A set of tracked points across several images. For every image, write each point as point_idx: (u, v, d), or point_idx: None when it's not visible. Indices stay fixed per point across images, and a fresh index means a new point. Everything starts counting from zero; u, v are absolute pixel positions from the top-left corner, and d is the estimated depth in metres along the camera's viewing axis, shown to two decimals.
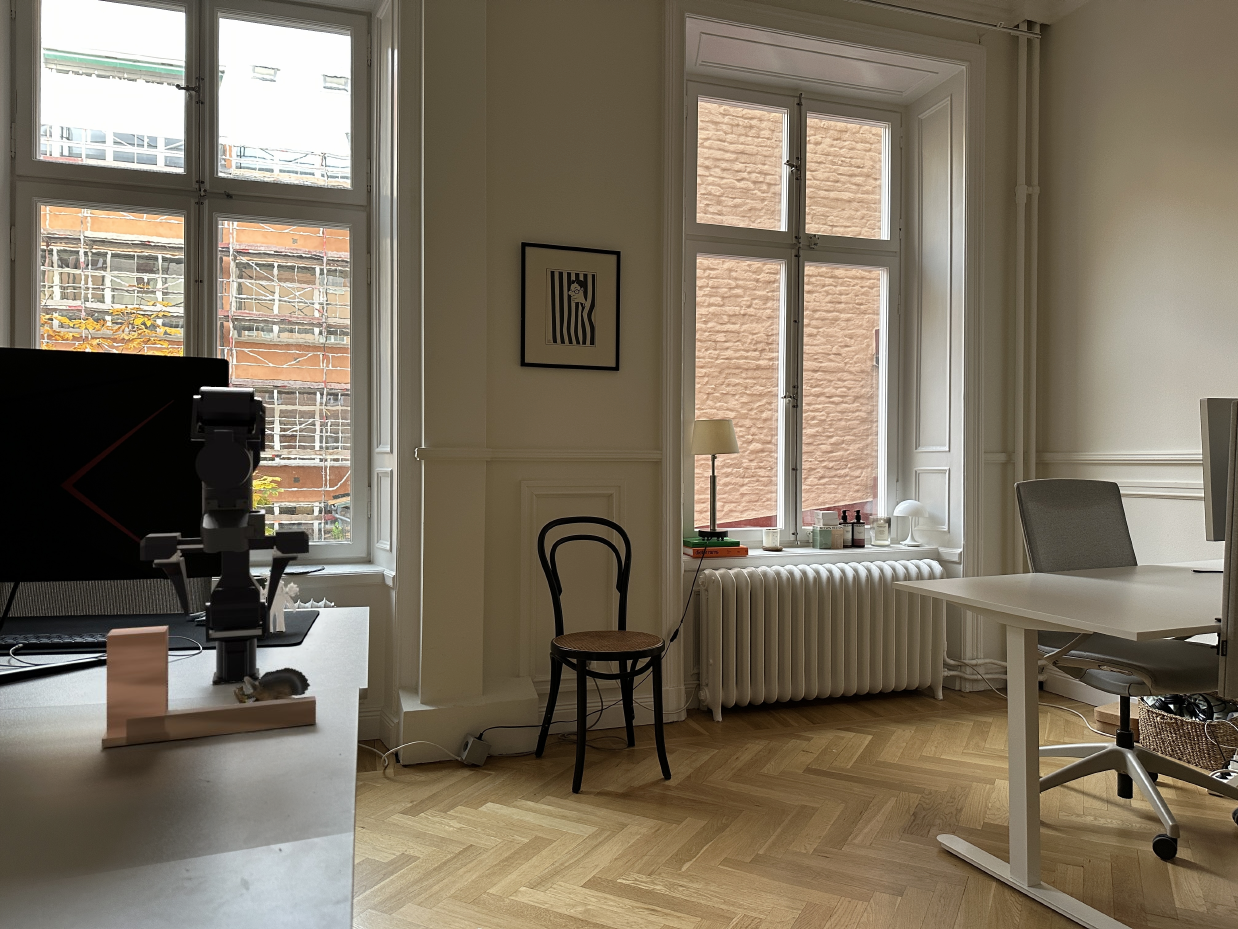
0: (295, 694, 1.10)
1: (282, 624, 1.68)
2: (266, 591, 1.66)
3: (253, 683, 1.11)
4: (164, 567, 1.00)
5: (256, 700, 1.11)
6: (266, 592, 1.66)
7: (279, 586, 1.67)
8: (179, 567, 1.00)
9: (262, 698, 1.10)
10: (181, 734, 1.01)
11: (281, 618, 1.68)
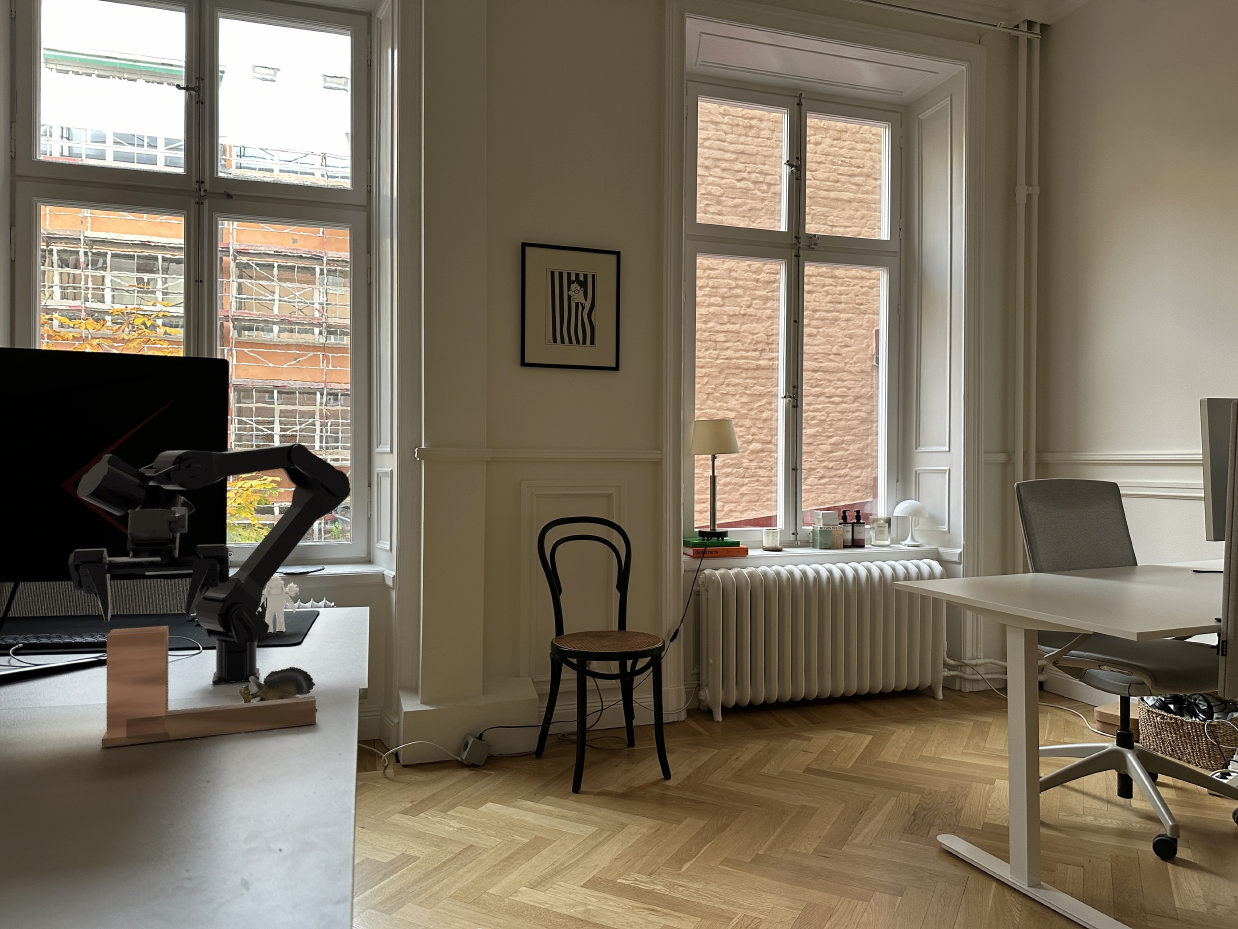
0: (300, 693, 1.10)
1: (282, 624, 1.68)
2: (266, 591, 1.66)
3: (258, 682, 1.12)
4: (90, 569, 1.09)
5: (261, 699, 1.11)
6: (266, 592, 1.66)
7: (279, 586, 1.67)
8: (104, 569, 1.09)
9: (267, 697, 1.10)
10: (181, 734, 1.01)
11: (281, 618, 1.68)
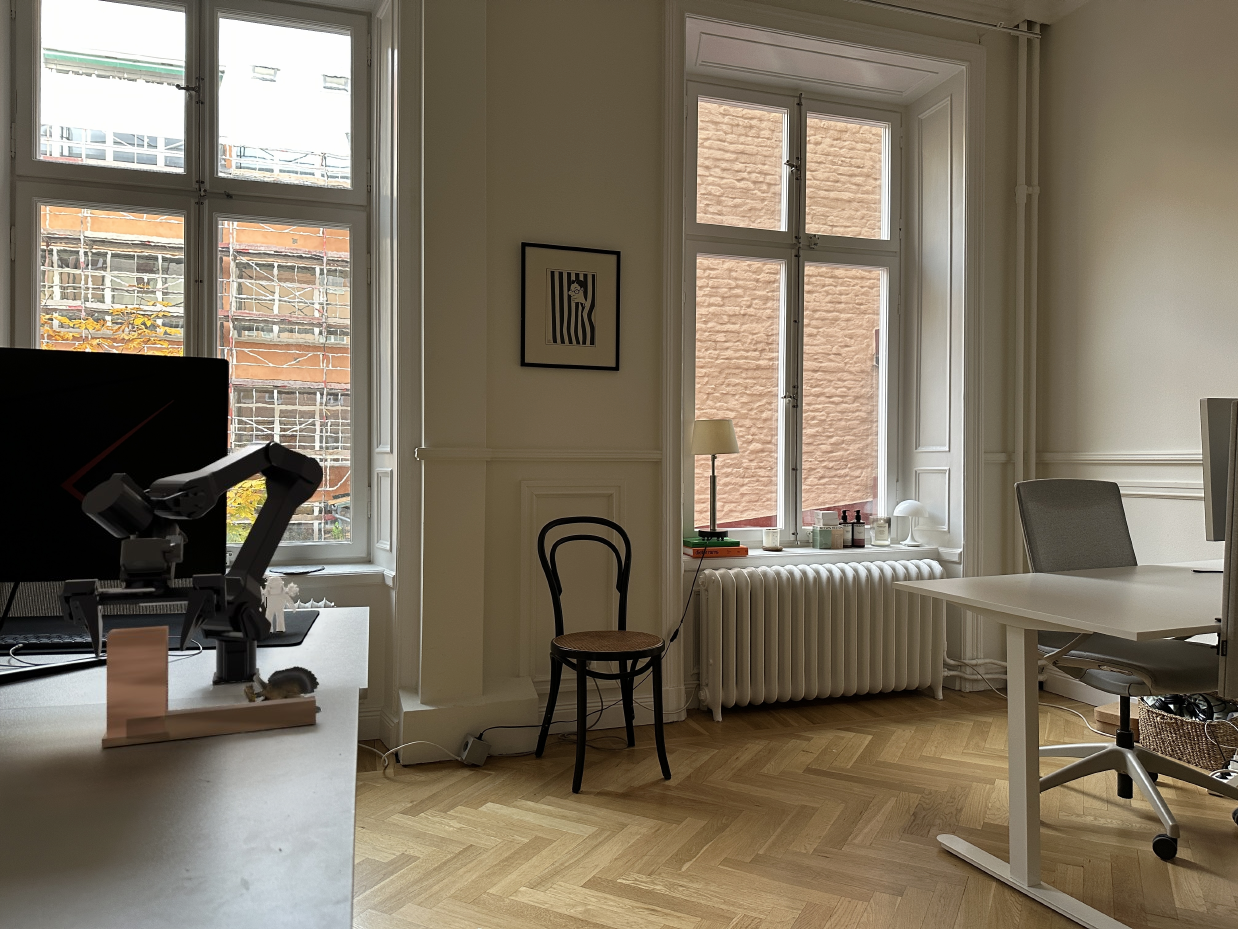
0: (304, 693, 1.11)
1: (282, 624, 1.68)
2: (266, 591, 1.66)
3: (262, 682, 1.12)
4: (80, 601, 1.04)
5: (265, 699, 1.11)
6: (266, 592, 1.66)
7: (279, 586, 1.67)
8: (95, 601, 1.04)
9: (272, 696, 1.11)
10: (181, 734, 1.01)
11: (281, 618, 1.68)
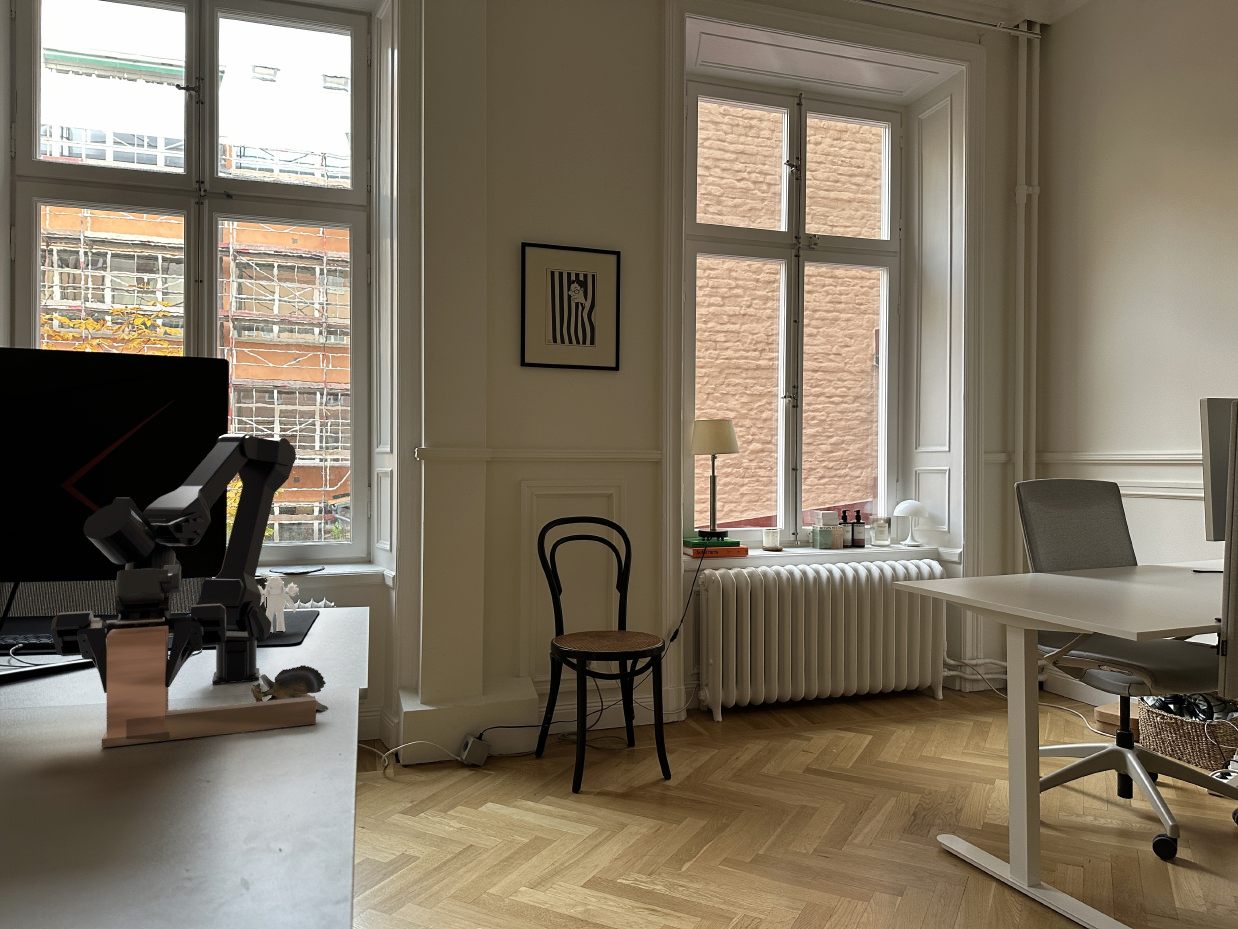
0: (311, 691, 1.11)
1: (282, 624, 1.68)
2: (266, 591, 1.66)
3: (269, 681, 1.13)
4: (88, 634, 1.00)
5: (272, 697, 1.12)
6: (266, 592, 1.66)
7: (279, 586, 1.67)
8: (103, 634, 1.01)
9: (278, 695, 1.11)
10: (181, 734, 1.01)
11: (281, 618, 1.68)
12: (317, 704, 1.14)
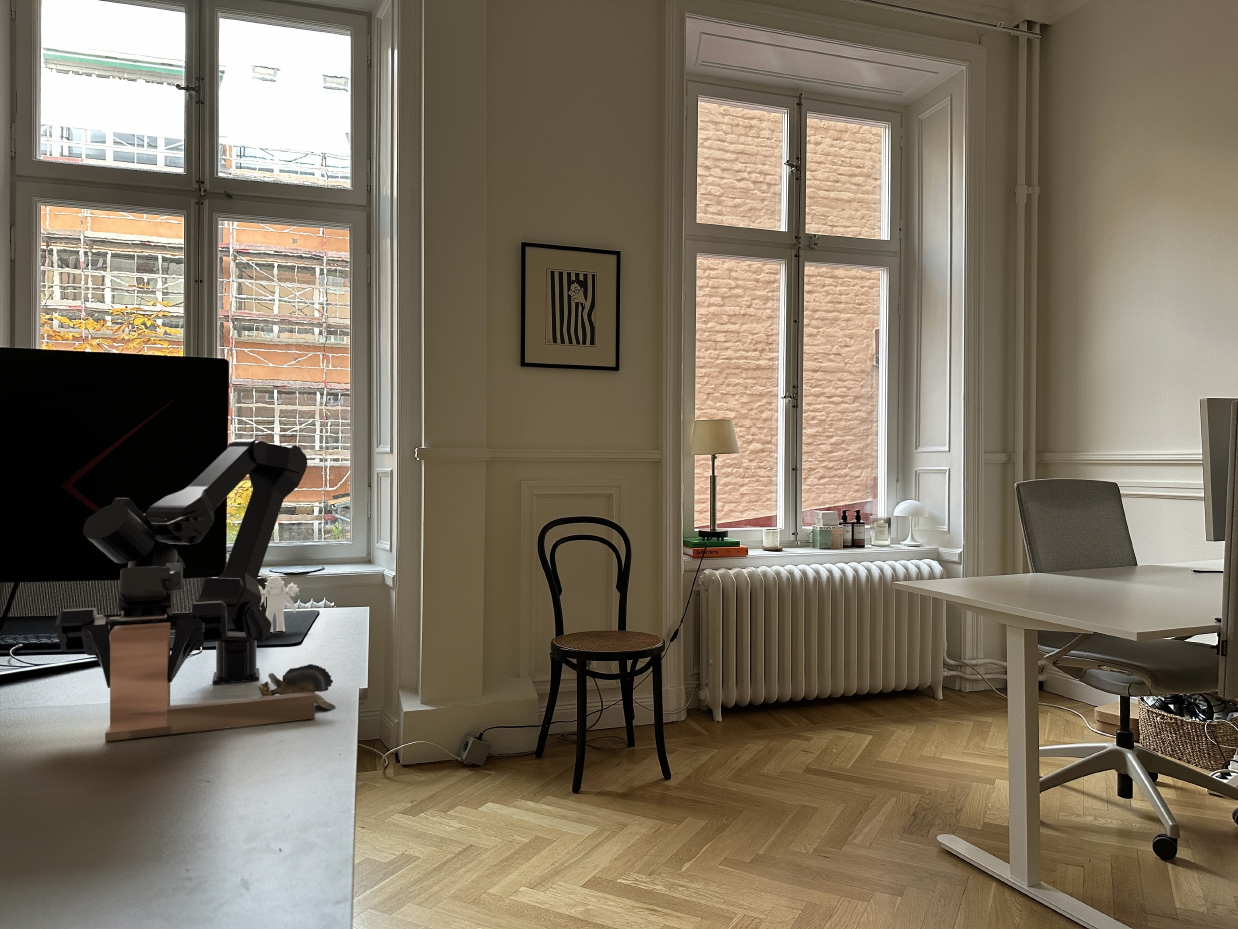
0: (318, 690, 1.12)
1: (282, 624, 1.68)
2: (266, 591, 1.66)
3: (277, 679, 1.13)
4: (92, 630, 1.02)
5: None
6: (266, 592, 1.66)
7: (279, 586, 1.67)
8: (107, 630, 1.03)
9: None
10: (183, 728, 1.03)
11: (281, 618, 1.68)
12: (324, 703, 1.14)
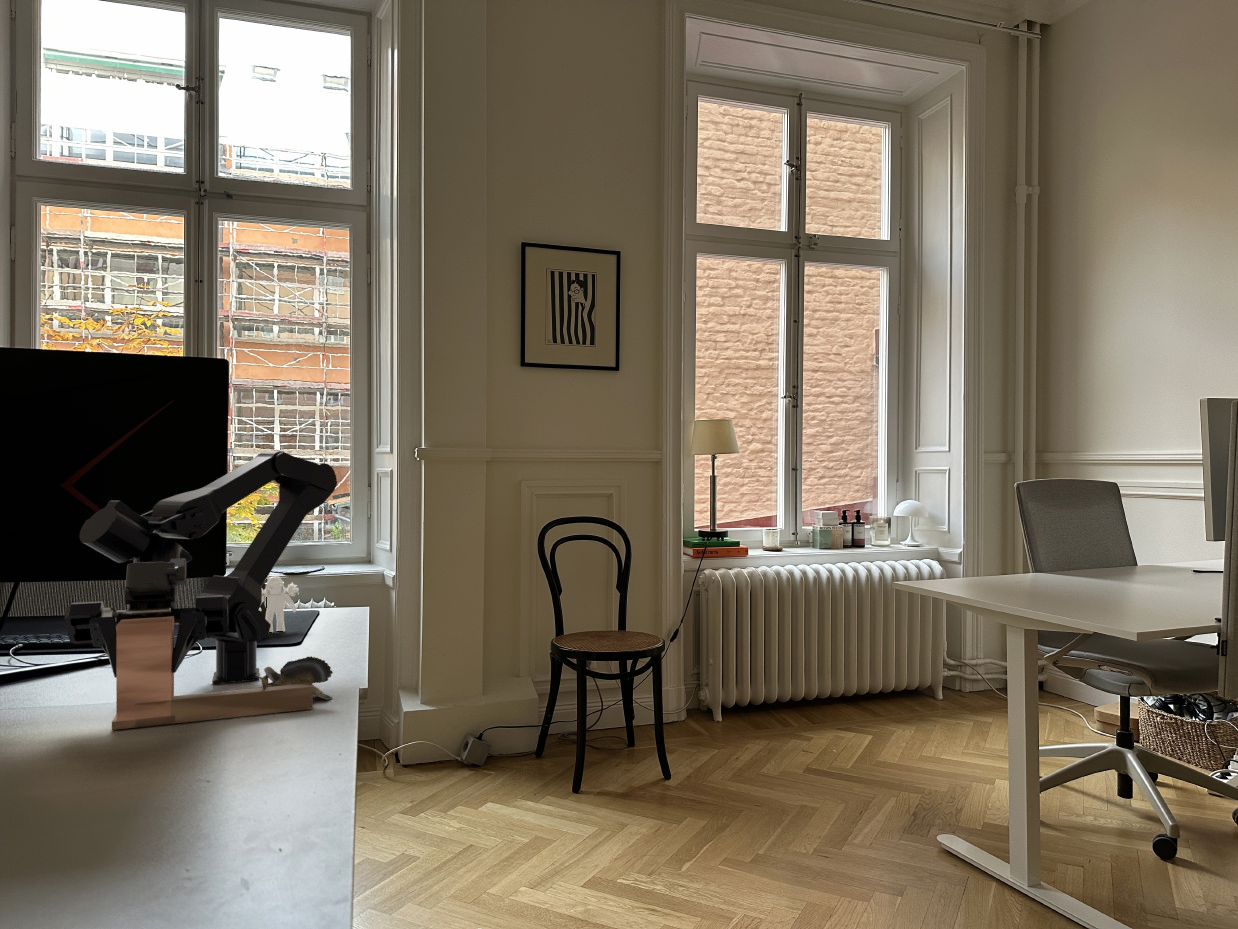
0: (318, 681, 1.16)
1: (282, 624, 1.68)
2: (266, 591, 1.66)
3: (275, 672, 1.17)
4: (99, 622, 1.07)
5: None
6: (266, 592, 1.66)
7: (279, 586, 1.67)
8: (114, 623, 1.08)
9: None
10: (186, 718, 1.08)
11: (281, 618, 1.68)
12: (321, 694, 1.19)
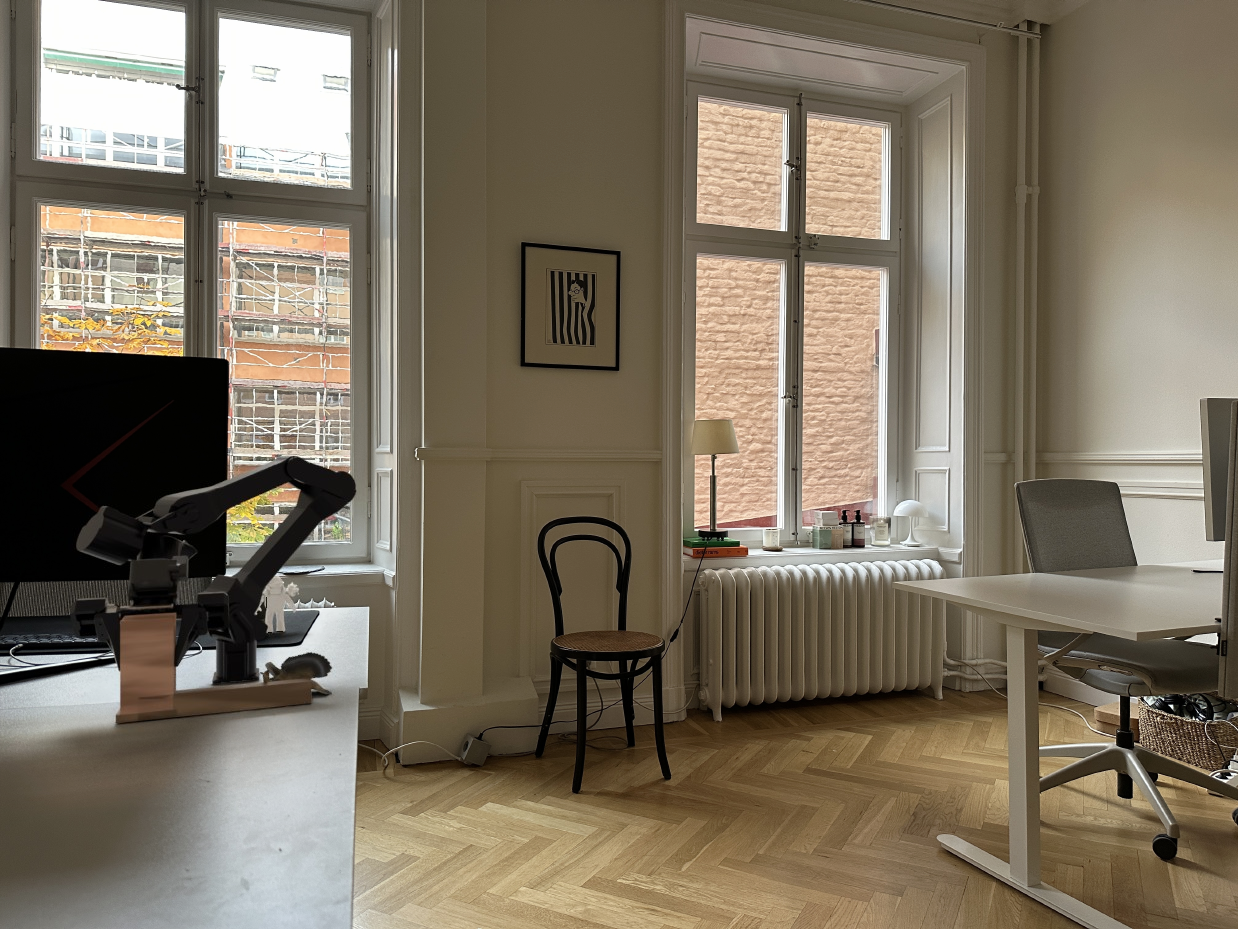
0: (318, 676, 1.19)
1: (282, 624, 1.68)
2: (266, 591, 1.66)
3: (275, 668, 1.20)
4: (104, 618, 1.10)
5: None
6: (266, 592, 1.66)
7: (279, 586, 1.67)
8: (118, 618, 1.11)
9: None
10: (188, 711, 1.10)
11: (281, 618, 1.68)
12: (321, 688, 1.21)
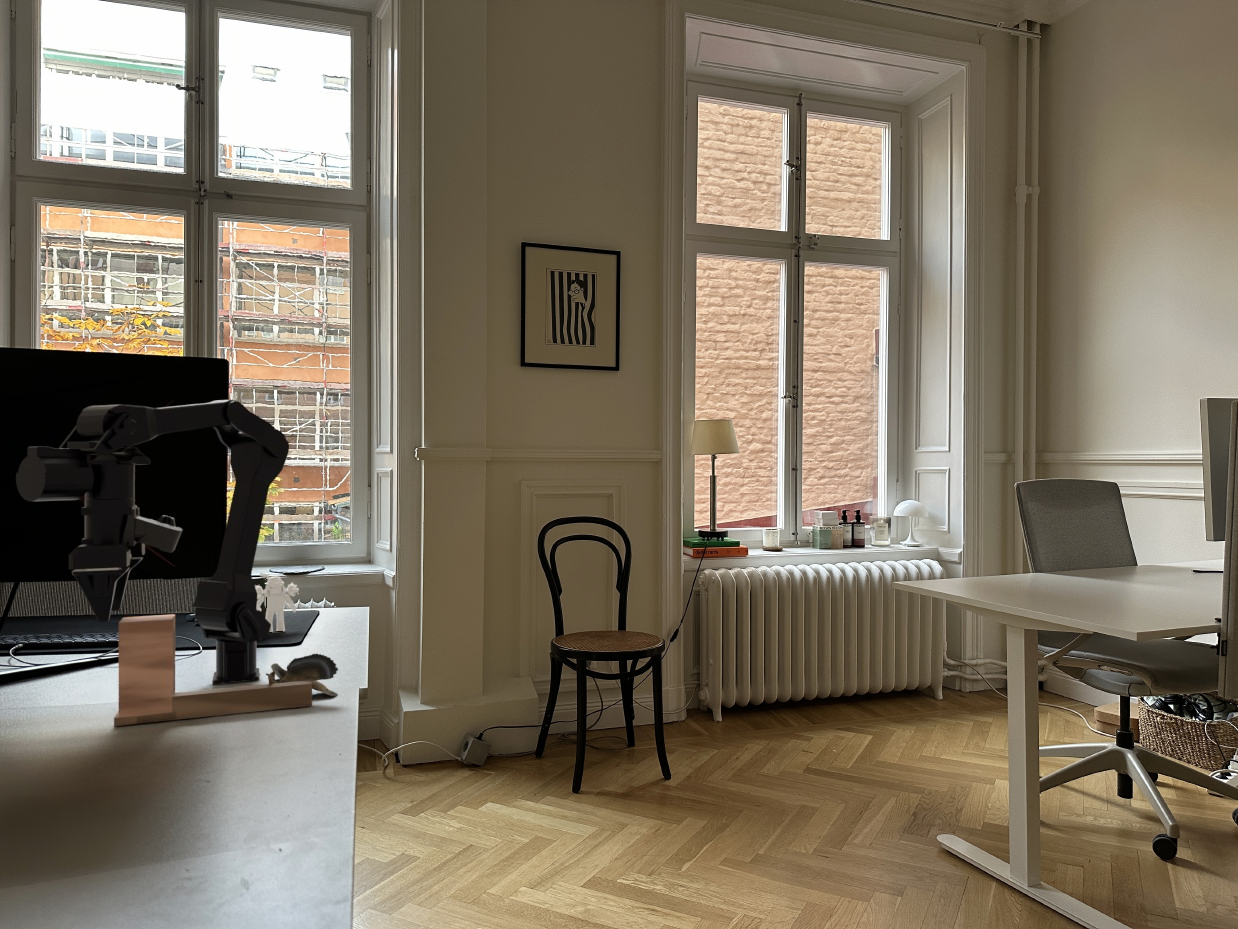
0: (324, 678, 1.18)
1: (282, 624, 1.68)
2: (266, 591, 1.66)
3: (281, 669, 1.19)
4: (124, 573, 1.07)
5: None
6: (266, 592, 1.66)
7: (279, 586, 1.67)
8: (125, 572, 1.08)
9: None
10: (187, 714, 1.09)
11: (281, 618, 1.68)
12: (327, 690, 1.20)
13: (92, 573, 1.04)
